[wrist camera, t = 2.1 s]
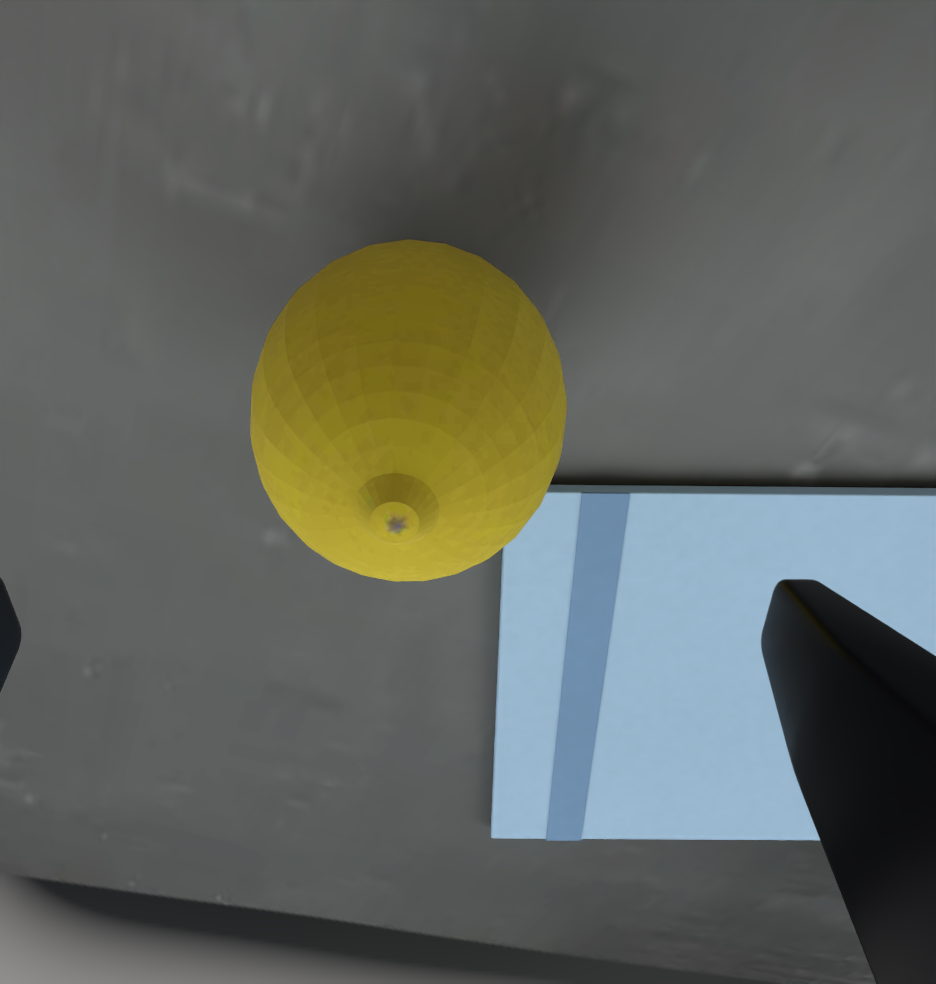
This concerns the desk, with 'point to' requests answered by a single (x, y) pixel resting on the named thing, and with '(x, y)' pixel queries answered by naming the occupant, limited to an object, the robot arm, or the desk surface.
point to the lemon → (408, 411)
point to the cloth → (678, 650)
